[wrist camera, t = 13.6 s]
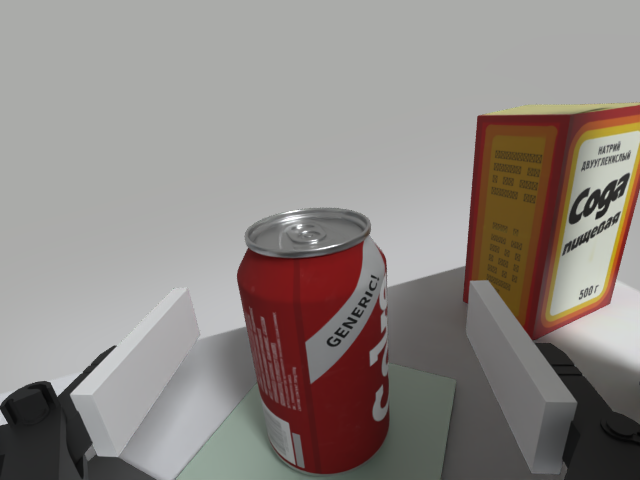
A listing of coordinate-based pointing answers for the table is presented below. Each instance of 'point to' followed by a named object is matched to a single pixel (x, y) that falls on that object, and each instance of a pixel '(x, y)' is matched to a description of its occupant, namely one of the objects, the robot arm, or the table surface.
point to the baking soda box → (553, 208)
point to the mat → (376, 476)
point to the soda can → (318, 337)
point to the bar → (113, 470)
